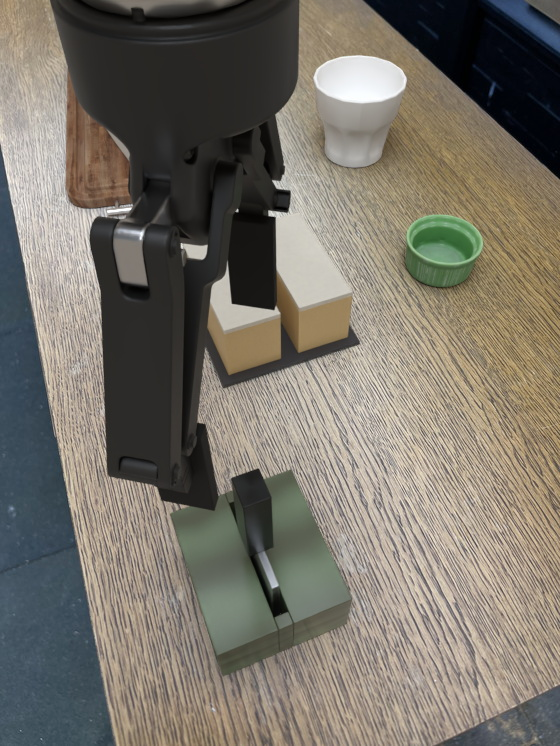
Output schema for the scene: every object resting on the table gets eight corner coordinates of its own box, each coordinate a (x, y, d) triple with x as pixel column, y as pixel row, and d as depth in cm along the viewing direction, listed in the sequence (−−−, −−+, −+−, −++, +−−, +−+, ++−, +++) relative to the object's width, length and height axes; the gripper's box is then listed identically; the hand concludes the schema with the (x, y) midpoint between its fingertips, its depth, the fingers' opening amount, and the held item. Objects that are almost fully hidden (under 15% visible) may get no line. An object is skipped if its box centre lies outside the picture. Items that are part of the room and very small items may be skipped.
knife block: (346, 623, 53) (352, 598, 49) (222, 677, 51) (216, 656, 46) (290, 501, 60) (291, 469, 56) (179, 542, 58) (169, 513, 53)
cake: (359, 344, 72) (366, 295, 66) (223, 388, 68) (217, 341, 62) (302, 254, 81) (303, 204, 75) (179, 289, 78) (170, 239, 72)
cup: (392, 127, 98) (403, 54, 90) (399, 177, 91) (411, 102, 82) (310, 127, 99) (313, 54, 90) (310, 176, 91) (313, 101, 82)
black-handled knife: (288, 621, 54) (288, 535, 40) (265, 630, 53) (258, 547, 40) (254, 536, 58) (244, 434, 45) (233, 545, 58) (216, 443, 44)
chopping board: (268, 198, 88) (267, 179, 86) (67, 223, 85) (61, 204, 83) (223, 41, 115) (222, 23, 113) (69, 56, 112) (65, 37, 110)
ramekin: (418, 298, 76) (424, 270, 73) (390, 249, 82) (394, 221, 78) (487, 283, 78) (497, 255, 74) (455, 236, 83) (463, 208, 80)
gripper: (159, 262, 11) (235, 632, 28) (357, -152, 26) (329, 250, 43) (-223, 207, 12) (72, 596, 29) (178, -162, 27) (219, 235, 44)
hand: (225, 390), depth 36 cm, fingers open, 13 cm apart
